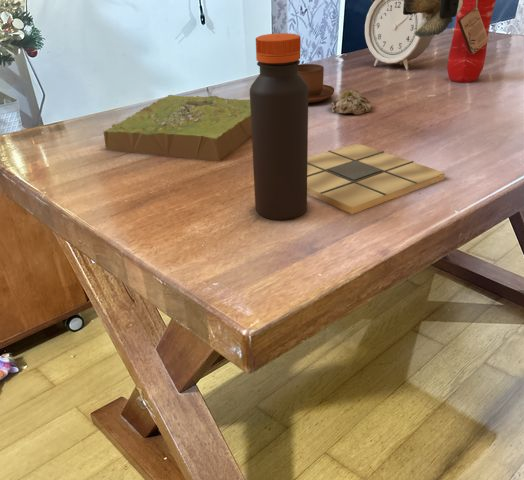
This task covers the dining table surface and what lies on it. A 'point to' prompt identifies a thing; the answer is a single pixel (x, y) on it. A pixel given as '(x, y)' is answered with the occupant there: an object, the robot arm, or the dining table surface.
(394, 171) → the board
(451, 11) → the robot arm
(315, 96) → the cup and saucer
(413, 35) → the alarm clock
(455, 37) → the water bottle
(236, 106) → the miniature landscape model
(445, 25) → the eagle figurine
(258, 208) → the vinegar
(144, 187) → the dining table surface
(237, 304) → the dining table surface
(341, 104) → the mineral rock
